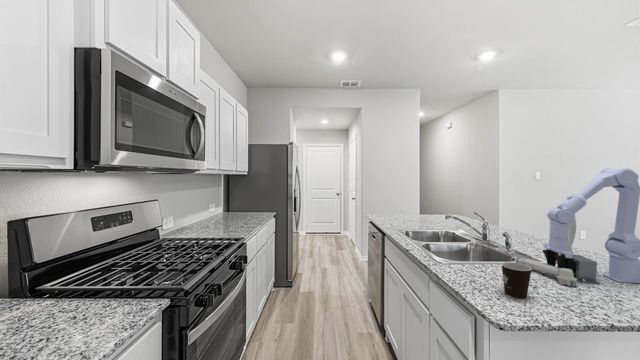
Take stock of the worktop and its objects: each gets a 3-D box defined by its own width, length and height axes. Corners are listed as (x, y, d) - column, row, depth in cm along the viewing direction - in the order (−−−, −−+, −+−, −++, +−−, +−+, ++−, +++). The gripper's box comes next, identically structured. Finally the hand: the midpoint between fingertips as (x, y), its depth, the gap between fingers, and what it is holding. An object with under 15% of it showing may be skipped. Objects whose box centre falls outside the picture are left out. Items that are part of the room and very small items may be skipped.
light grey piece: (525, 256, 132) (580, 268, 107) (525, 271, 131) (581, 286, 106) (514, 256, 131) (567, 268, 107) (515, 271, 131) (568, 286, 106)
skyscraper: (581, 263, 134) (583, 203, 133) (564, 263, 134) (566, 203, 133) (566, 257, 142) (568, 201, 141) (549, 257, 142) (551, 201, 141)
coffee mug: (532, 302, 94) (532, 272, 94) (501, 296, 99) (501, 267, 98) (528, 289, 104) (529, 262, 104) (500, 284, 109) (501, 258, 108)
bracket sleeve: (574, 271, 123) (574, 253, 123) (601, 284, 109) (602, 264, 109) (557, 270, 124) (557, 252, 124) (581, 283, 110) (582, 263, 110)
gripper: (537, 232, 125) (535, 263, 126) (558, 241, 111) (556, 275, 111) (555, 234, 124) (553, 265, 125) (579, 242, 110) (577, 277, 110)
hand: (556, 270), depth 118 cm, fingers open, 6 cm apart
